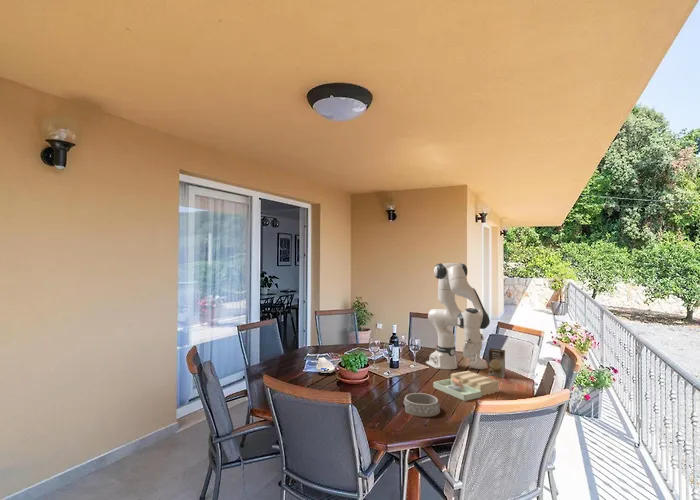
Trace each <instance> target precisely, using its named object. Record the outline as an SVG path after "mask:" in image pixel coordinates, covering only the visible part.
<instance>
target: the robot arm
mask: <svg viewBox="0 0 700 500" xmlns="http://www.w3.org/2000/svg"><path fill="white" fill-rule="evenodd" d="M433 275H434V277H435V278H436V279H438V281H437V284H438V285H437V299H438V301H439V303H440V304H442V305H444V307H445V308H432V309H430V310H429V311H428V313H427V318H428V321H429V323H431V325H432V326H433V327H434V328H435V330H436V333H437V334H436V335H437V345H436V349H435V351H433V352H431V354H429V357H428V358H429V360H426V361H425V364H427V365H429V366H430V367H433V368H434V369H440V370H455V369H458V363H457V355H456V340H455V339H456V337H455V334H454V332H452V331H451V330H450V329H449V328H448V326H449V327H459V328H461V329H463V330H464V331H463V338H464V341H465V342H464V343H463V347H462V356H463V358H466V359H469V361H470V363H471V362H472V363H473V362H475V359H476V353H478V352H479V351H480V352H482V350H483V341H482V338H483V337H484V336H483V334H482V333H481V330H485V329H487V328H488V326H490V323H491V321H490V317H489V315H488V313H487V311H486V310H485V308H484V306H483V303H482V301H481V299H480V297H479V294H478V293H477V290H476V289H475V288H473V287H472V285H470V284H469V282H468V279H467V276H468V267H467V265H466V264H464V263H456V262H446V263H437V264H435V265H434V268H433ZM455 295H456V296H459V297H463V299H464V298H465V299H467V300H469V301H471V303H472V305H473V307H474V308H473V307H472V308H471V307H470V308H464V309H465V310H464V311H462V310H461V309H460V308H459V307H458V305H457V302H456V296H455ZM480 333H481V334H482V335H481V334H480ZM483 339H484V338H483Z"/></svg>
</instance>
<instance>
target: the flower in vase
mask: <svg viewBox="0 0 700 500" xmlns="http://www.w3.org/2000/svg"><path fill="white" fill-rule="evenodd" d="M480 334H481V335H483V333H481V332H480ZM484 338H485V337H484V336H483V338H482V342H483V341H484V340H485V339H484ZM480 356H481V351H479V352H478V353H476V357H475V362H473V363H472V362H470V363H469V364H468V365H469V367H470V368H471V369H475V370H484V369H487V368H488V365H487V364H486V362H484V361H483V360H482V359H481V357H480Z"/></svg>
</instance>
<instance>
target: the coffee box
mask: <svg viewBox="0 0 700 500" xmlns="http://www.w3.org/2000/svg"><path fill="white" fill-rule="evenodd" d="M488 376H489V377H494V378H502V379H504V378H505V376H506V350H505V349H499V348H489V350H488Z"/></svg>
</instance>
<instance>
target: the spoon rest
mask: <svg viewBox="0 0 700 500" xmlns="http://www.w3.org/2000/svg"><path fill="white" fill-rule="evenodd" d="M317 363H318V364H317ZM321 368H327V369H329V370H328V371H324V370H319V369H321ZM335 369H336V367H335V366H334V365H333V363H331V362H330V361H329V360H328V359H327V358H325V357H324V356H323V357H318V359H317V361H316V370H317V371H316V372H318V373H319V372H321V373H330V374H331V373H333V372H334V371H335ZM321 373H320V374H321Z"/></svg>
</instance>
